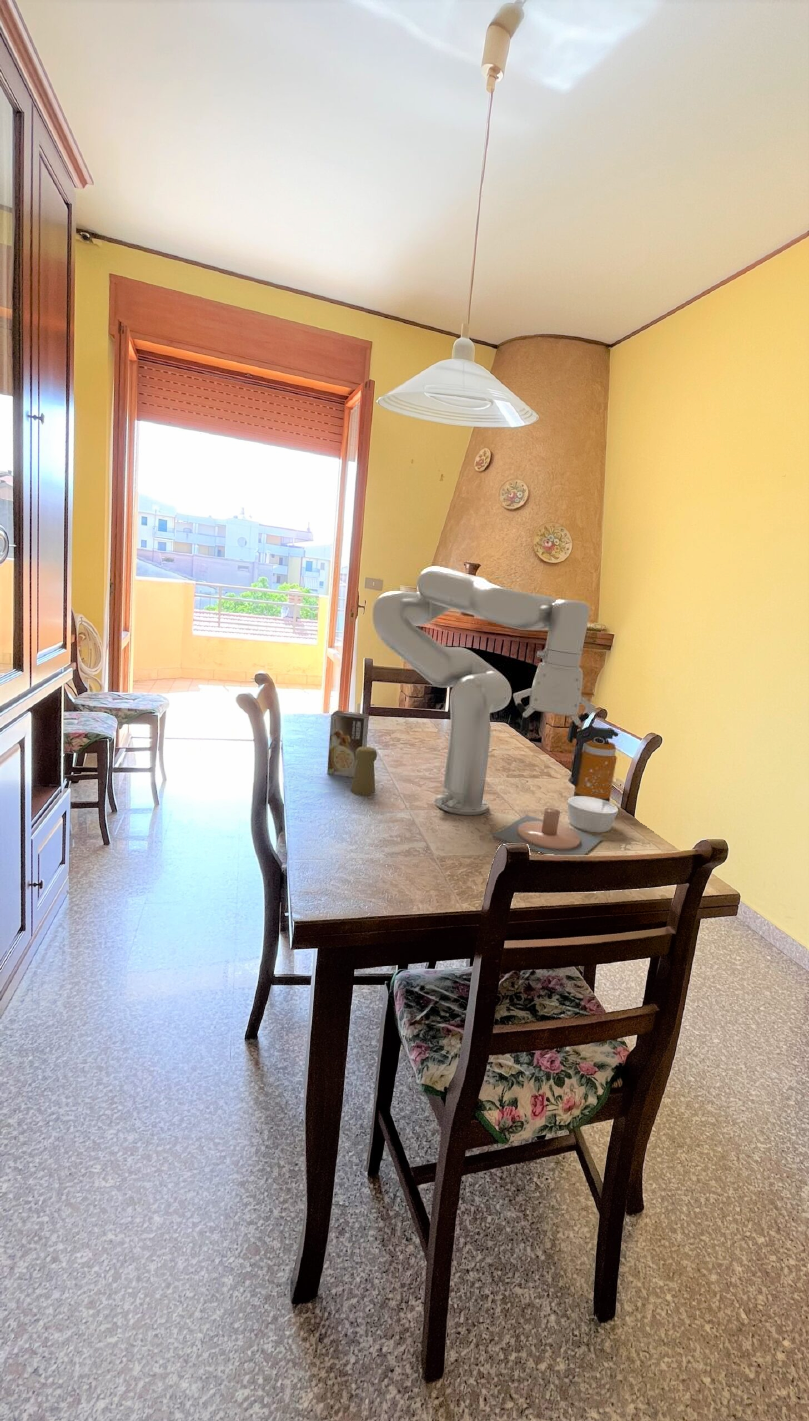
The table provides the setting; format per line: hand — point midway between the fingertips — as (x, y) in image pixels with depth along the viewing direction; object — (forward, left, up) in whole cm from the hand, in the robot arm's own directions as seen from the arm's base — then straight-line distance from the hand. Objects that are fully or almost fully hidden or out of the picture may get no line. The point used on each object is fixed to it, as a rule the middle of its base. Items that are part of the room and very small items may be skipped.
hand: (547, 737), depth 135 cm
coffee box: (-2, +52, -21) cm, 57 cm away
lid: (-3, -5, -21) cm, 21 cm away
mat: (-3, -5, -21) cm, 22 cm away
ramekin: (+13, -8, -21) cm, 26 cm away
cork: (-10, +40, -21) cm, 47 cm away
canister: (+30, -2, -21) cm, 37 cm away
